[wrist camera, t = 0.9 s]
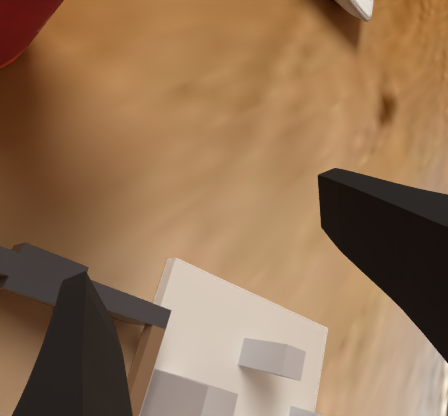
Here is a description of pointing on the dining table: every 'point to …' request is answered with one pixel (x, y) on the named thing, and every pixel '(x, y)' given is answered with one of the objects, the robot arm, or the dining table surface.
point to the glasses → (113, 299)
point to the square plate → (358, 8)
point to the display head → (231, 351)
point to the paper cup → (21, 25)
